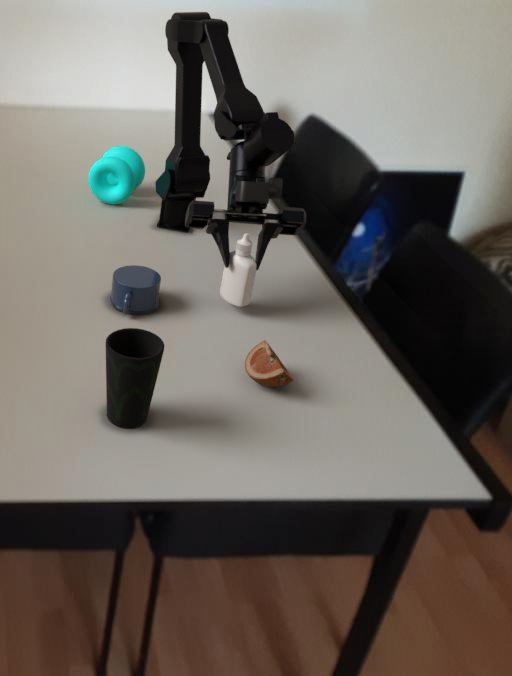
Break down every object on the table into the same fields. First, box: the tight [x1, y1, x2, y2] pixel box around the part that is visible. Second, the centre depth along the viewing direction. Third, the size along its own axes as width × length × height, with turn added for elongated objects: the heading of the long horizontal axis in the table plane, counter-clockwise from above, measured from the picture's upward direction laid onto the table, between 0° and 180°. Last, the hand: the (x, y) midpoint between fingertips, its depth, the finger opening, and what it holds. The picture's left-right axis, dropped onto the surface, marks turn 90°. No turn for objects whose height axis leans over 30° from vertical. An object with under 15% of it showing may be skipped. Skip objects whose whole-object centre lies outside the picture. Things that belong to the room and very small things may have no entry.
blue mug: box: [109, 264, 162, 316], centre depth 142 cm, size 10×8×5 cm
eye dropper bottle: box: [219, 232, 257, 308], centre depth 138 cm, size 4×6×12 cm
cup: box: [105, 327, 165, 430], centre depth 114 cm, size 8×8×12 cm
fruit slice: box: [244, 339, 294, 387], centre depth 124 cm, size 8×7×5 cm
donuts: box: [88, 145, 146, 205], centre depth 178 cm, size 10×10×10 cm
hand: (241, 268), depth 137 cm, fingers closed on eye dropper bottle, 4 cm apart
